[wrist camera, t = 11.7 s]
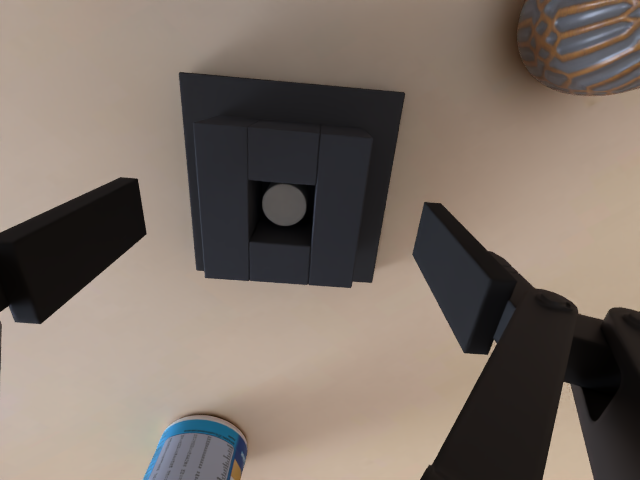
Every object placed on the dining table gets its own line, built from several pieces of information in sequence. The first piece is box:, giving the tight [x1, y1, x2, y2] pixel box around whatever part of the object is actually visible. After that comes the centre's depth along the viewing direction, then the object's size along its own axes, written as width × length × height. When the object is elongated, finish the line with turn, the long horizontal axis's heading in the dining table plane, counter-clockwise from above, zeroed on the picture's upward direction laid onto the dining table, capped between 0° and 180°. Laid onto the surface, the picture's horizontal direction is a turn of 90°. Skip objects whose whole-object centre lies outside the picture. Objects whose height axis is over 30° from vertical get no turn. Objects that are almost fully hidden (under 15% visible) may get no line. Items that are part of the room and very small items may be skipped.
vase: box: [517, 0, 640, 96], centre depth 13 cm, size 7×7×9 cm
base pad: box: [179, 72, 405, 283], centre depth 19 cm, size 12×12×4 cm
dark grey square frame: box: [193, 115, 373, 288], centre depth 18 cm, size 8×8×4 cm
